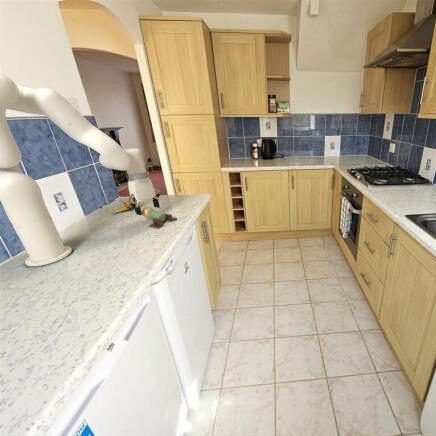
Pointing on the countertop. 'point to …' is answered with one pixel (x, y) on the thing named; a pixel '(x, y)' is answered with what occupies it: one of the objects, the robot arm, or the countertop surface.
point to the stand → (158, 223)
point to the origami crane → (124, 207)
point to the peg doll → (153, 213)
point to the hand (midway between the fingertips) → (148, 210)
